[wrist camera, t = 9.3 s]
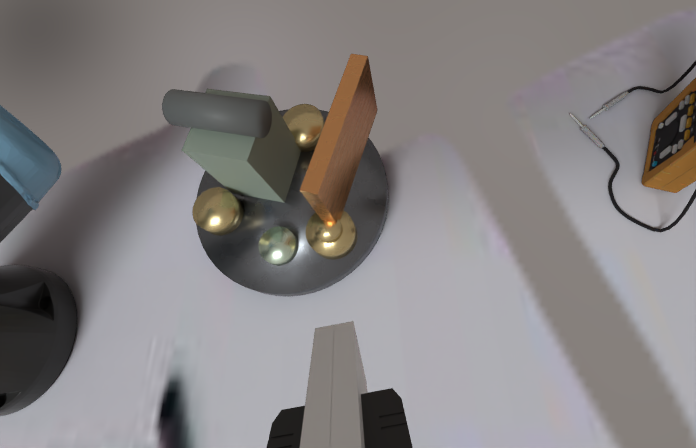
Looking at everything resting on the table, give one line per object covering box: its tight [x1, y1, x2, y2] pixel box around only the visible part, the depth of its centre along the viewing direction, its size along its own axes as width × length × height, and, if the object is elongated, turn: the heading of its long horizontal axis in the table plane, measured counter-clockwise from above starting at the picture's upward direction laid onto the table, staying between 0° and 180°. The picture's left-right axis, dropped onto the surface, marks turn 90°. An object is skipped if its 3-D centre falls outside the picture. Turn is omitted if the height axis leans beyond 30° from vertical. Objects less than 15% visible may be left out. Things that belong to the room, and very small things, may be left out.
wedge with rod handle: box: [162, 89, 301, 203], centre depth 35 cm, size 8×6×12 cm
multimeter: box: [569, 61, 696, 232], centre depth 27 cm, size 15×10×20 cm
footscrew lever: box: [300, 54, 377, 260], centre depth 33 cm, size 15×4×10 cm, turn 162°
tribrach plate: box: [193, 104, 388, 296], centre depth 39 cm, size 20×20×4 cm
